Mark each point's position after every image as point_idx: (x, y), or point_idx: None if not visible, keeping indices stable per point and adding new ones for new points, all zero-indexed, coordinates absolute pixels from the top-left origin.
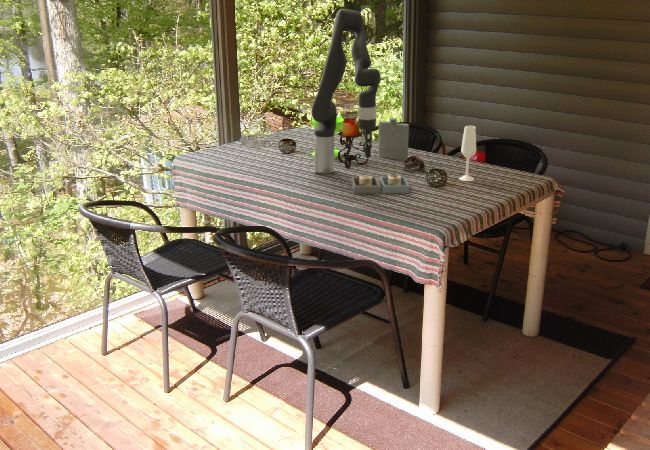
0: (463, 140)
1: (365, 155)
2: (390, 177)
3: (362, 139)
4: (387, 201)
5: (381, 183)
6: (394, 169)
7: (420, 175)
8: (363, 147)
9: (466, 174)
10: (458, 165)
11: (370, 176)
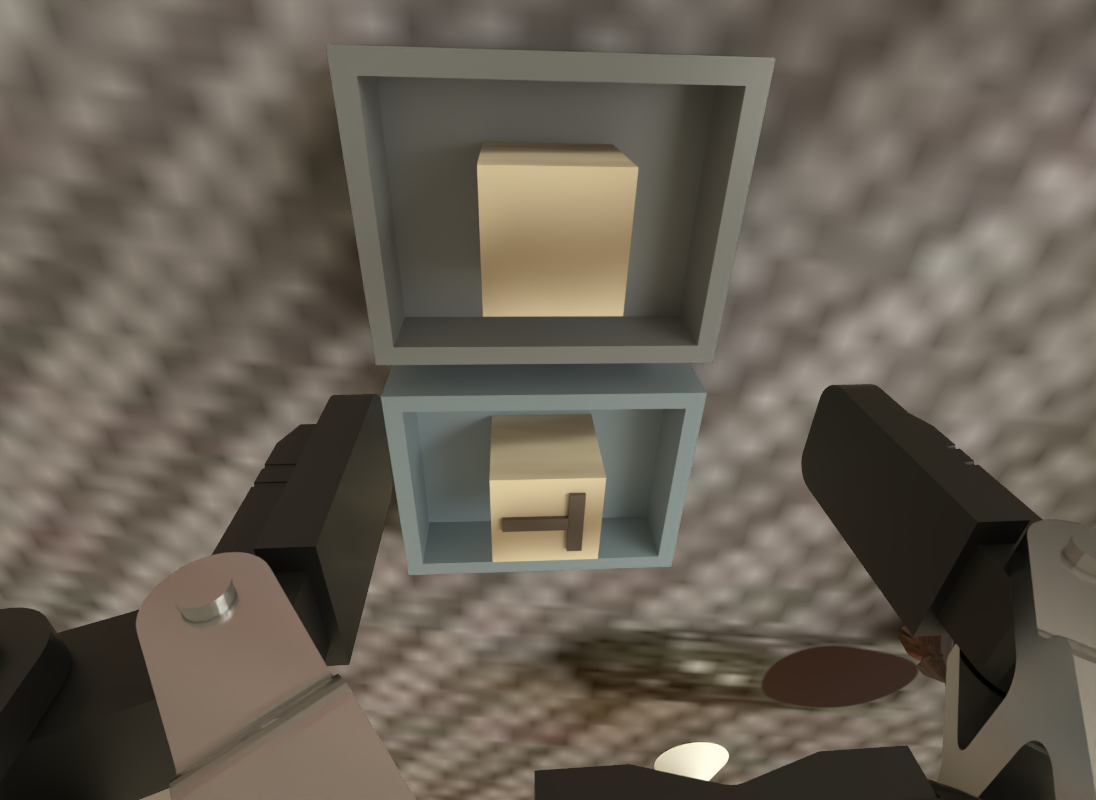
0: None
1: (323, 412)
2: (531, 491)
3: (1069, 676)
4: (198, 369)
5: (556, 382)
6: (1043, 493)
7: (827, 612)
8: (897, 448)
9: None
10: (927, 753)
11: (589, 309)
